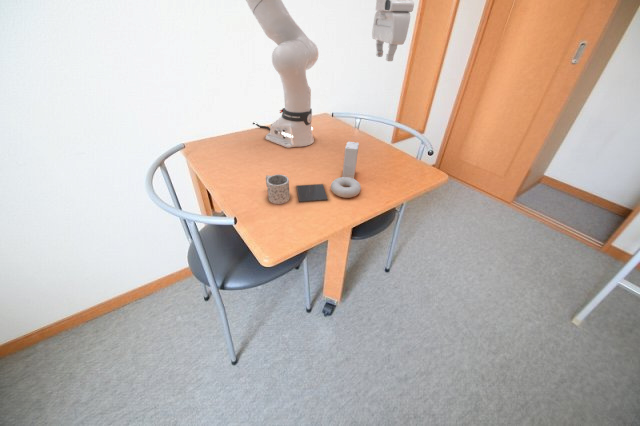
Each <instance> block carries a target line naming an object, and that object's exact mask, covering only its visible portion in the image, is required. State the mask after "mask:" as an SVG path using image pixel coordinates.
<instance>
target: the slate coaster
mask: <svg viewBox="0 0 640 426" xmlns="http://www.w3.org/2000/svg"><path fill="white" fill-rule="evenodd" d="M296 192H297V197H298V202H299V203H307V202H321V201H323V202H324V201H328V197H327V193H326V190H325V187H324V184H323V183H321V184H303V185H301V184H300V185H296Z"/></svg>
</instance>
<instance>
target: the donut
mask: <svg viewBox="0 0 640 426" xmlns="http://www.w3.org/2000/svg"><path fill="white" fill-rule="evenodd" d="M330 190H331V192H332V193H333V194H334V195H336V196H338V197H340V198H345V199H347V198H353V197H356V196H358V195H359V194H360V192H361V190H362V186H361V183H360V182H359V181H358V180H357V179H355V178H354V179H353V178H349V177H342V176H341V177H340V176H339V177H337V178H335V179H334V180H333V181H331V183H330Z"/></svg>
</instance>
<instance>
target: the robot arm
mask: <svg viewBox="0 0 640 426" xmlns="http://www.w3.org/2000/svg"><path fill="white" fill-rule="evenodd" d="M245 2H246V4H247V5H248V7H249V9H250V11H251V13H252V14H253V16H254V18H255V20H256V21H257V23H258V24H259V26H260V28H261V30H262V31H263V32H264V35H266V36H267V38H269V39H270V40H271V41H272V42H274V43H275V44H276V45H277V46H275V48H274V49H273V51H272V54H271V62H272V66H273V68H274V70H276V72H277V73H278V75H279V78H280V80H281V81H280V82H281V85H282V89H283V100H284V101H283V103H284V107H282V109H280V110H279V114H281V116H280V117H278V118H277V119H276V120H275V121H273V122H272V123H271V124H270V127H269V126H266V125H260V124H258V123H257V124H255V123H254V122H252V125H255V126H257V127H258V128H262V129H267V130H268V131H269V133H267V134H266V135H265V140H267V141H268V142H272V143H273V144H277V145H279V146H282V147H284V148H287V149H291V148H298V147H306V146H310V145H312V144H313V143H314V142H315V139H314V134H313V130H314V128H313V127H312V121H313V110H312V89H311V87H310V85H309V83H308V80H307V71H308V70H310V69H311V68H313V67H314V66H315V64H316V63H317V62H318V59H319V48H318V47H317V46H318V45H316V43H315V42H314V41H313V40H311V39H310V38H309V36H307V34H306V33H305V31H303V29H302V28H301V27H300V26H299V25H298V24H297V22H296V21H295V20H294V18H293V17H292V15H291V14H290V12H289V10H288V9H287V7H286V6H285V3H284V2H283V0H245ZM414 6H415V2H414V0H376V1H375V11H376V12H375V14H374V18H373V25H372V32H371V38H372V39H373V40H376V41H375V46H376V52H375V55H376V57H377V58H382V57H383V55H384V50H383V49H384V43H386V44H388V50H387V53H386V54H385V55H386V56H385V61H386V62H393V61H394V56H395V54H396V51H397V49H398V46H400V45H404V43H406V40H407V35H408V32H409V27H410V22H411V13H412V12H413V11H414V8H415V7H414Z"/></svg>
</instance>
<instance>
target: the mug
mask: <svg viewBox="0 0 640 426" xmlns="http://www.w3.org/2000/svg"><path fill="white" fill-rule="evenodd" d="M265 185H266V187H267V195H268V197H267V198H268V201H269V202H270V203H272V204H274V205H282V204H285V203H288V202H289V200H290V199H291V197H290V179H289V177H288V176H286V175H284V174H273V175H266V176H265Z"/></svg>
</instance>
